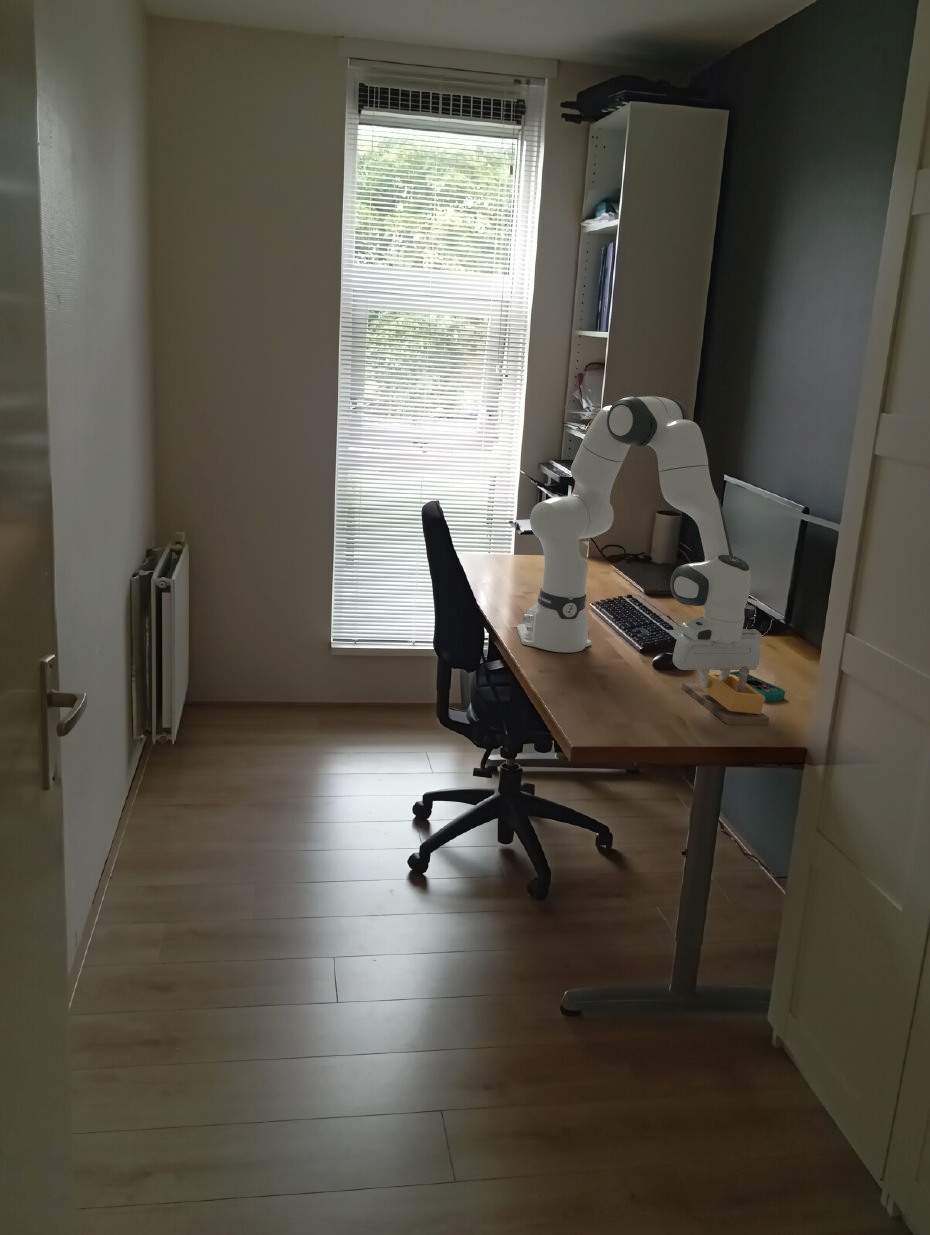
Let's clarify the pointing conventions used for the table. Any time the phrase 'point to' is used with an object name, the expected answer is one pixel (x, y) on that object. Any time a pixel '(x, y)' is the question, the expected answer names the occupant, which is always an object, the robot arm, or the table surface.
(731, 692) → the orange rectangular frame
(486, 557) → the table surface
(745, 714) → the keeper board
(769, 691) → the digital multimeter
